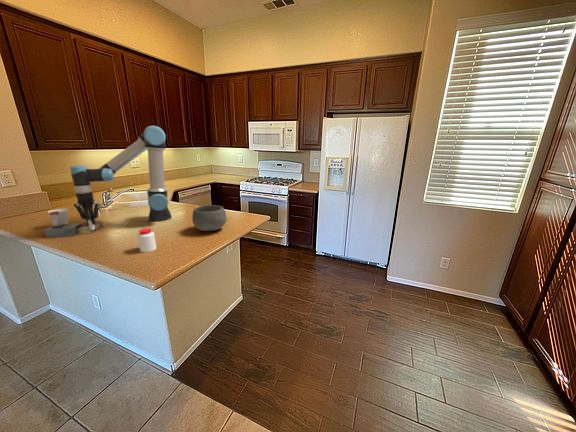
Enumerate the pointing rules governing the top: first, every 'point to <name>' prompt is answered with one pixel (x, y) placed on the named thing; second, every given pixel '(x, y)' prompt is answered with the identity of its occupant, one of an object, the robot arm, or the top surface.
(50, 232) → the socket block
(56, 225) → the cylinder
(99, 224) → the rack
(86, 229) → the tan square peg
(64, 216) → the cup
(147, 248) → the pill bottle
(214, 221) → the bowl
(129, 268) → the top surface
